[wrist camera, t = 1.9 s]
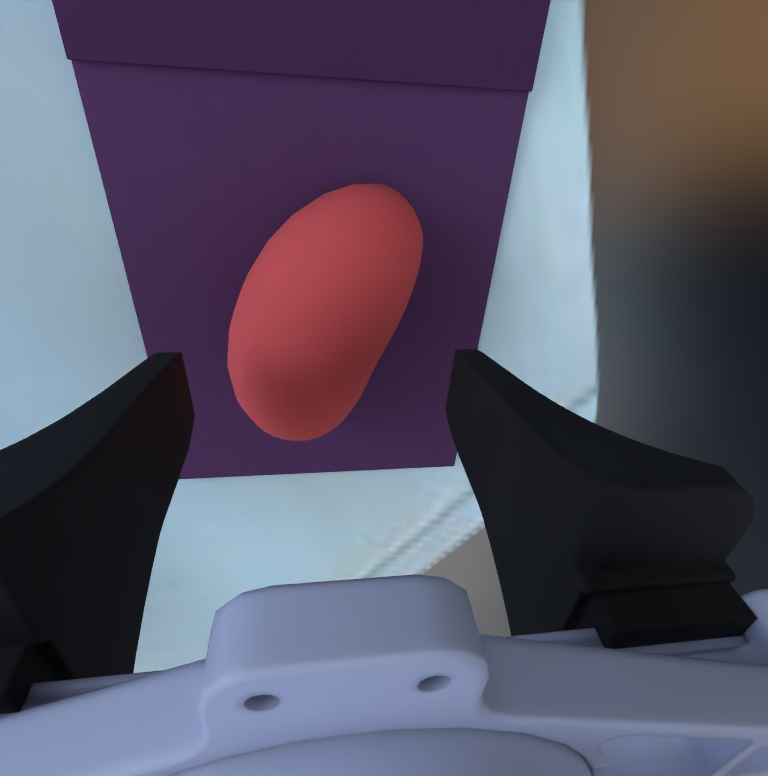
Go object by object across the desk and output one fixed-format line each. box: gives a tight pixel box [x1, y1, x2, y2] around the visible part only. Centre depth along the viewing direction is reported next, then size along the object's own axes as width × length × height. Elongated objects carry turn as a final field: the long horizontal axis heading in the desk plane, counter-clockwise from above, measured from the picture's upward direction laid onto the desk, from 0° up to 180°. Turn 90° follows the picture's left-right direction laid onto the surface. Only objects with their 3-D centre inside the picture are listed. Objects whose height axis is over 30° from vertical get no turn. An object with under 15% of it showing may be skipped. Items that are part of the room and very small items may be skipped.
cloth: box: [52, 0, 550, 479], centre depth 17 cm, size 20×13×1 cm, turn 176°
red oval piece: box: [227, 184, 423, 441], centre depth 16 cm, size 5×9×6 cm, turn 143°
